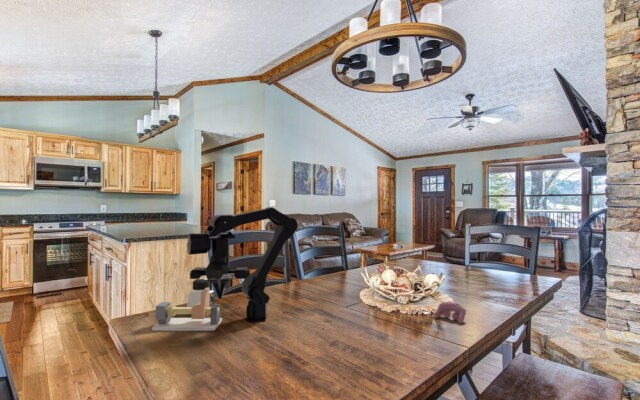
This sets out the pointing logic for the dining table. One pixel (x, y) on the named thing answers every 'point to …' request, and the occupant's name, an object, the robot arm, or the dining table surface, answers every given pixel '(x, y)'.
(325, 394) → the dining table surface
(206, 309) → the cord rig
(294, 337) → the dining table surface
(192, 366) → the dining table surface
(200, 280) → the medicine bottle
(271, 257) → the robot arm
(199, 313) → the sleeve
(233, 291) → the dining table surface
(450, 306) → the video game controller
